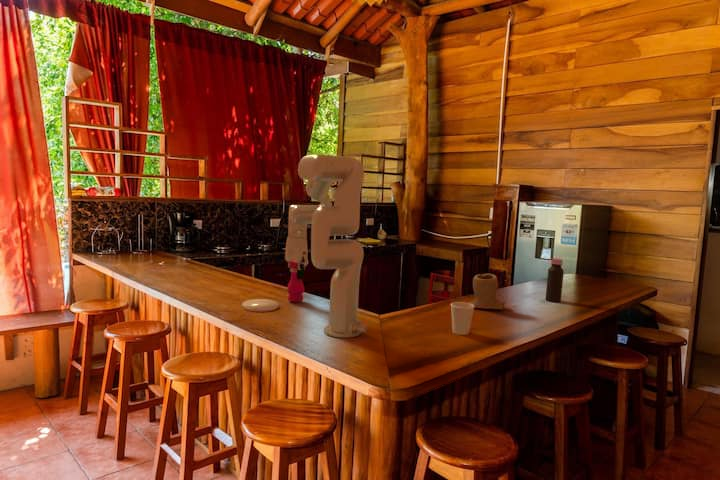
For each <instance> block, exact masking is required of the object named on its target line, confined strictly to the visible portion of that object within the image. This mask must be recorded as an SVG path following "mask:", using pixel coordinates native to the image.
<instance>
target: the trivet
mask: <svg viewBox="0 0 720 480" xmlns="http://www.w3.org/2000/svg"><path fill="white" fill-rule="evenodd" d="M241 304H242V305H241V308H242V309H243V310H245V311H249V312H257V313H258V312H259V313H262V312H272V311H275V310H278V308H279V302H278V301H276V300H273V299H265V298H259V299H258V298H255V299H254V298H253V299H248V300H244V301H243V302H242V303H241Z"/></svg>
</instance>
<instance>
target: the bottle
mask: <svg viewBox="0 0 720 480" xmlns="http://www.w3.org/2000/svg"><path fill="white" fill-rule="evenodd" d="M550 265H551V266H550V267H549V268H548V269H547V280H546V292H545V300H546V302H551V303H561V301H562V294H563V293H562V292H563V282H564V271H565V270H564V269H563V268H562V266H563V259H562V258H551V262H550Z"/></svg>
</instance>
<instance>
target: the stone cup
mask: <svg viewBox="0 0 720 480" xmlns="http://www.w3.org/2000/svg"><path fill="white" fill-rule="evenodd" d="M498 288H499V279H498V277H497V275H495V274H494V273H483V274H481V273H479V274H476V275H474V277H473V279H472V289H473V293H474V299H473V300H472V299H471V301H469V302H468V303H470V304H473V305H474V306H475V307H474V309H475V308H476V309H484V310H497V311H499V310H500V311H502V310H503V309H504V308H505V304H506V301H504V300H497V299H496V296H497V291H498Z"/></svg>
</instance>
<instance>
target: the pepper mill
mask: <svg viewBox="0 0 720 480" xmlns="http://www.w3.org/2000/svg"><path fill="white" fill-rule="evenodd" d="M301 262H303V261H301ZM289 264H290V266H291V268H290V269H291V270H290V271H291V277H290V280H289V282H288V284H287V287H286V288H287V289H286V291H287V293H288V295H287V296H288V297H287V300H288V301H290V302H302V301H303V300H304V293H305V286H304V285H305V284H304V283H303V279H299V280H298V279H297V270H298V263H294V262H292V261H289ZM301 265H302V264H300V266H301Z"/></svg>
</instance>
